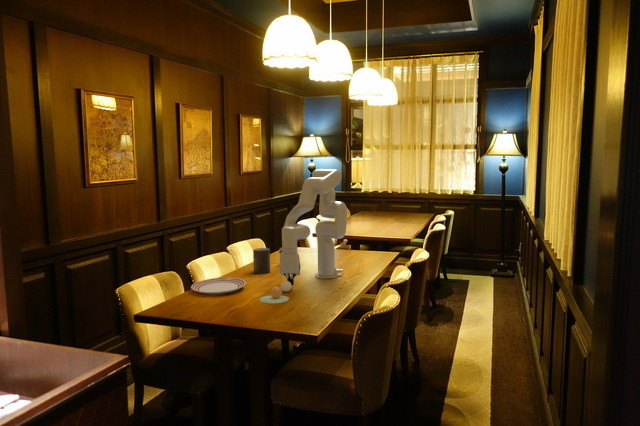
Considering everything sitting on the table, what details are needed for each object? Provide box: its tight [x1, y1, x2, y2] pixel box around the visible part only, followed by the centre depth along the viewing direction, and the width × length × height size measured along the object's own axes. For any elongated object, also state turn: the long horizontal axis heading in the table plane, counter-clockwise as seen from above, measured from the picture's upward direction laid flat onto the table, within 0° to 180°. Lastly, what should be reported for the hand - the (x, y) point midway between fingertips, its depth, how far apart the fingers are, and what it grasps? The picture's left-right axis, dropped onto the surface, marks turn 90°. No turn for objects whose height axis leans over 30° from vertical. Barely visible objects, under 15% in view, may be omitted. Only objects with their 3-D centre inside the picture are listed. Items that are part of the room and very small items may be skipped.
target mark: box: [258, 294, 290, 305], centre depth 239 cm, size 14×14×1 cm
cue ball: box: [280, 280, 293, 293], centre depth 252 cm, size 6×6×6 cm
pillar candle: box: [252, 247, 271, 275], centre depth 295 cm, size 10×10×15 cm
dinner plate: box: [190, 277, 247, 295], centre depth 258 cm, size 28×27×3 cm
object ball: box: [269, 286, 283, 298], centre depth 241 cm, size 6×6×6 cm
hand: (290, 285), depth 257 cm, fingers closed
